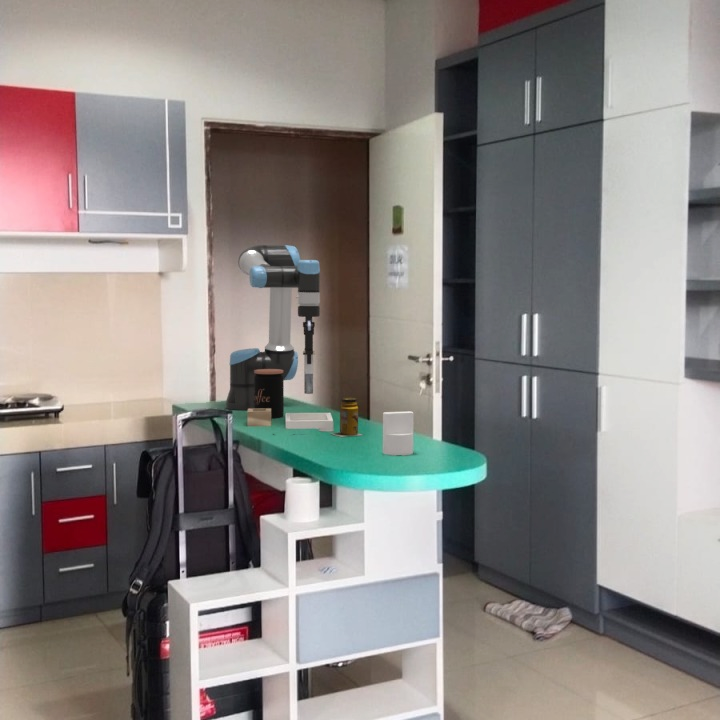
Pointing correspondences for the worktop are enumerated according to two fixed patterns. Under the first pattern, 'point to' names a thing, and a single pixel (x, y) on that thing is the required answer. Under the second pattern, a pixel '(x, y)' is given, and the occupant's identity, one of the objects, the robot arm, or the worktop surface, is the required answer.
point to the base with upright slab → (398, 433)
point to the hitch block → (259, 417)
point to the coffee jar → (269, 391)
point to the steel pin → (308, 380)
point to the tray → (309, 421)
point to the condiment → (348, 418)
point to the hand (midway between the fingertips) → (308, 372)
